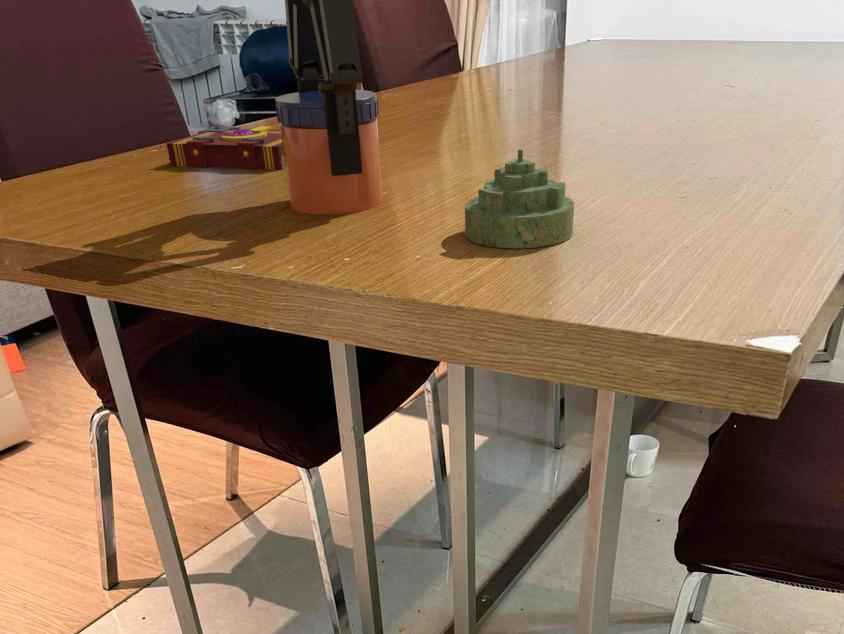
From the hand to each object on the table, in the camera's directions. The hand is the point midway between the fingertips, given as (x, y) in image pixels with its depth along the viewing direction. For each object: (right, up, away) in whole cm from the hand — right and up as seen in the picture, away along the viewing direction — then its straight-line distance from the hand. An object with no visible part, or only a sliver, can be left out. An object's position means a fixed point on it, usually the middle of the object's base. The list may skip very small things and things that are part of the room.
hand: (333, 164), depth 80 cm
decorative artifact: (+18, -7, -1) cm, 19 cm away
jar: (0, -4, +3) cm, 5 cm away
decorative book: (-14, +10, +23) cm, 29 cm away
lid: (0, +4, -3) cm, 5 cm away
